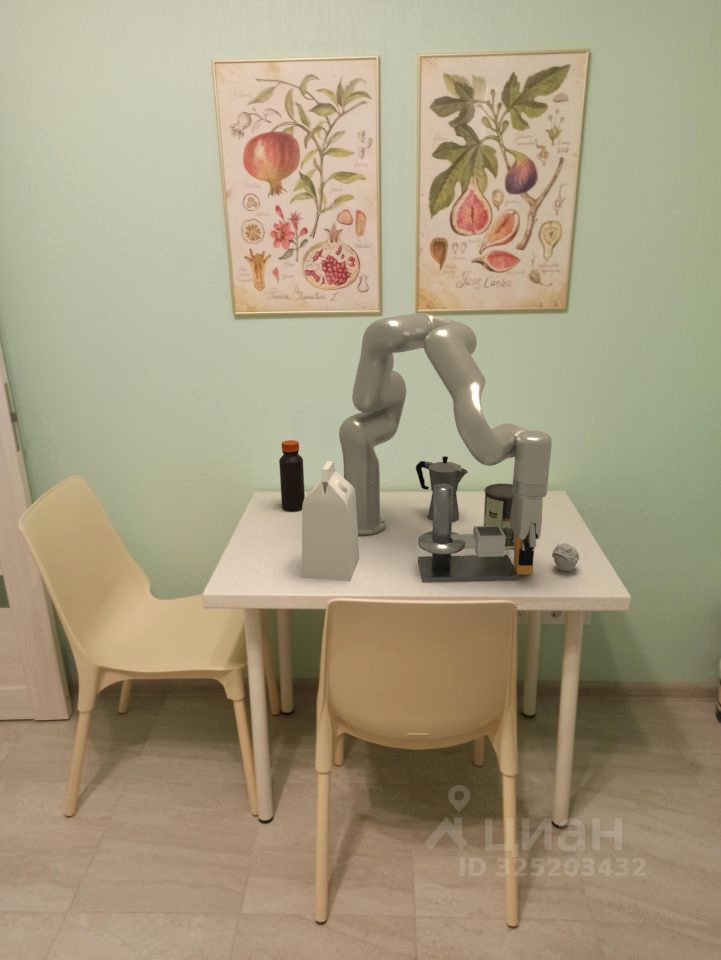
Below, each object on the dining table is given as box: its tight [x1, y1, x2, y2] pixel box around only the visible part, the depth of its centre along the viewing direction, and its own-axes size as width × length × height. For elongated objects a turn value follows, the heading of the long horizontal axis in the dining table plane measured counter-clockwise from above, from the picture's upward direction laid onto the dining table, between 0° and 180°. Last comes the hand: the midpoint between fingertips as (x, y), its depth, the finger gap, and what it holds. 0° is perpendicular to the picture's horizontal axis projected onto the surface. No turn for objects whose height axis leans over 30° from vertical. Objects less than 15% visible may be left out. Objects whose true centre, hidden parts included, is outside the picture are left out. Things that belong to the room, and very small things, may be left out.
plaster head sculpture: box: [551, 542, 580, 572], centre depth 159 cm, size 6×7×7 cm
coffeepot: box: [415, 455, 468, 524], centre depth 189 cm, size 15×9×18 cm, turn 59°
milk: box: [301, 460, 360, 582], centre depth 159 cm, size 12×12×26 cm
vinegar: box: [278, 439, 306, 512], centre depth 197 cm, size 7×7×20 cm
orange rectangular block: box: [513, 533, 534, 576], centre depth 157 cm, size 4×4×11 cm
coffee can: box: [483, 483, 514, 550], centre depth 174 cm, size 10×10×14 cm
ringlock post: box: [417, 484, 519, 583], centre depth 158 cm, size 22×11×21 cm, turn 91°
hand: (523, 560), depth 158 cm, fingers closed on orange rectangular block, 3 cm apart
